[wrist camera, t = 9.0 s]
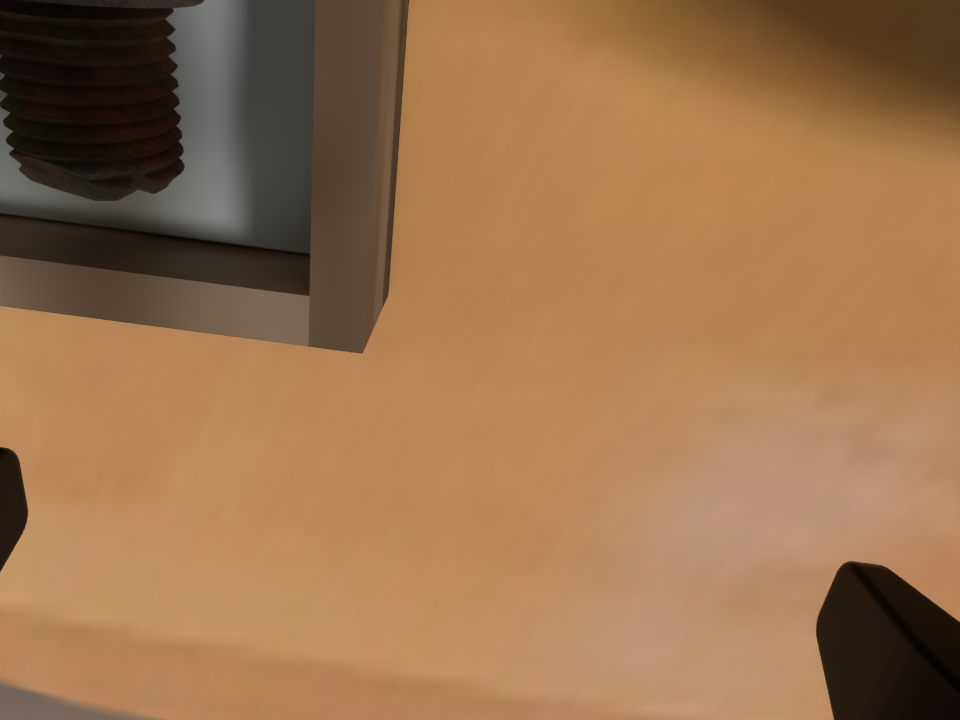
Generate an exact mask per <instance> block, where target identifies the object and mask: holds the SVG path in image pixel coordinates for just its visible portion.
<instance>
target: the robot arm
mask: <svg viewBox="0 0 960 720" xmlns="http://www.w3.org/2000/svg"><path fill="white" fill-rule="evenodd" d="M27 517H28V507H27V501H26V496H25V490H24V485H23V479H22V473H21V468H20V462H19V459H18V457H17V455H16V454H15V452H14V451H12V450H10V449H8V448H3V447H0V572H1V570H2V568H3V566H4V565H5V563H6V561H7V559H8V558H9V556H10V554H11V553H12V551H13V549H14V547H15V546H16V544H17V542H18V540H19V539H20V537H21V535H22V533H23V531H24V529H25V526H26V522H27ZM816 636H817V642H818V647H819V651H820V656H821V661H822V666H823V670H824V675H825V680H826V684H827V689H828V694H829V698H830V703H831V708H832V713H833V717H834V720H960V622H959V621H958V620H956V619H955V618H954V617H952V616H951V615H950V614H948V613H947V612H946V611H944V610H943V609H942V608H940V607H939V606H938V605H936V604H935V603H934V602H932V601H931V600H930V599H928V598H927V597H926V596H924V595H923V594H922V593H920V592H919V591H918V590H916V589H915V588H914V587H912V586H911V585H910V584H908V583H907V582H906V581H904V580H903V579H902V578H900V577H899V576H898V575H896V574H895V573H894V572H892V571H891V570H890V569H888V568H887V567H884V566H882V565H876V564H869V563H861V562H854V561H849V562H846V563H844V564H843V565H842V566H841V567H840V568H839V569H838V571H837V573H836V575H835V578H834V580H833V582H832V585H831V587H830V589H829V592H828V594H827V596H826V598H825V601H824V603H823V605H822V608H821V610H820V612H819V615H818V619H817V625H816Z"/></svg>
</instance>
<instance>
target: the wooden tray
mask: <svg viewBox="0 0 960 720" xmlns="http://www.w3.org/2000/svg"><path fill="white" fill-rule="evenodd" d="M408 5H409V0H204V2H203V3H202V4H199V5H196V6H191V7H182V8H173V10H174V12H173V13H172V14H171V15H170V16H168V17H167V18H165V19H166V20H167V21H168V22H169V23H170V24H171V25H172V26H173V27H174V28H175V29H176V30H175V31H174V32H173V33H172V34H171V35H170V36H168V37H167V38H168V39H169V40H170V41H171V42H172V43H174V44H175V47H176V51H175V52H173V53H172V54H171V55H169V57H170V58H171V59H172V60H173V61H174V62H175V63H176V64H177V65H178V67H177V68H176V70H175V71H174V72H173V73H171V75H172V76H173V77H175V78H176V79H177V81H178V85H179V87H177V88H176V89H175V90H173V91H172V92H173V93H174V94H176V95H177V96H178V97H179V102H180V104H179V105H178V106H177V107H175V108H174V110H175V111H176V112H177V113H178V114H179V115H180V116H181V117H182V118H181V120H180V122H179V124H178V125H177V127H178V128H179V129H180V130H181V132H182V139H180V140H179V142H180V143H181V145H182V146H183V149H184V152H183V155H182V156H181V157H180V159H181V160H182V161H183V163H184V166H185V168H184V171H183V172H182V173H181V174H180V175H179V176H177V177H176V178H175V179H173V180H172V181H171V182H170V184H169V185H168V186H167V188H165V189H163V190H161V191H159V192H157V193H156V194H151V193H148V192H145V191H141V190H137V191H135V192H134V193H132V194H130V195H128V196H126V197H124V198H122V199H120V200H118V201H94V200H90V199H87V198H84V197H80V196H77V195H73V194H70V193H67V192H63V191H60V190H57V189H54V188H51V187H48V186H45V185H42V184H39V183H37V182H34V181H31V180H29V179H28V178H27V177H26V176H25V175H24V174H22V173H21V172H20V171H19V168H20V166H21V164H20V163H19V162H18V161H16V160H15V159H14V158H13V157H11V156H10V155H9V152H10V151H12V150H13V149H14V148H13V147H11V146H10V145H8V144H7V143H6V138H7V137H8V136H9V135H10V134H11V133H12V132H13V131H12V130H10V129H8V128H6V127H5V126H4V123H3V120H4V119H5V118H6V117H7V116H8V115H9V114H10V112H8V111H6V110H4V109H2V108H1V106H0V306H5V307H13V308H21V309H28V310H36V311H43V312H51V313H59V314H66V315H74V316H81V317H89V318H96V319H104V320H112V321H119V322H127V323H134V324H142V325H149V326H157V327H165V328H172V329H180V330H187V331H195V332H203V333H210V334H218V335H225V336H233V337H240V338H248V339H256V340H263V341H271V342H278V343H286V344H294V345H301V346H309V347H316V348H324V349H331V350H339V351H347V352H354V353H363V351H364V349H365V347H366V344H367V342H368V340H369V337H370V335H371V333H372V331H373V328H374V326H375V324H376V322H377V319H378V317H379V315H380V312H381V310H382V308H383V306H384V303H385V301H386V299H387V297H388V291H389V277H390V262H391V248H392V234H393V219H394V205H395V191H396V177H397V162H398V148H399V134H400V119H401V105H402V91H403V76H404V62H405V48H406V34H407V19H408ZM1 57H2V55H0V58H1ZM4 76H5V75H4V74H2V73H1V72H0V80H1V79H2V78H3V77H4ZM7 95H8V94H6V93H5V92H3V91H1V90H0V102H1V101H2V100H3V99H4V98H5V97H6V96H7Z"/></svg>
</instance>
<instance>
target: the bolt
mask: <svg viewBox="0 0 960 720" xmlns="http://www.w3.org/2000/svg"><path fill="white" fill-rule="evenodd" d="M203 2H204V0H0V55H2V57H1V58H0V72H1V73H2V74H4V75H5V76H4V77H3V78H2V79H1V80H0V90H1V91H3V92H5V93H6V94H8V95H7V96H6V97H5V98H4V99H3V100H2V101H1V102H0V106H1V108H2V109H4V110H6V111H8V112H10V114H9V115H8V116H7V117H6V118H5V119H4V120H3V123H4V126H5V127H6V128H8V129H10V130H12V131H13V132H12V133H11V134H10V135H9V136H8V137H7V138H6V143H7V144H8V145H10V146H11V147H13V148H14V149H13V150H12V151H10V152H9V155H10V156H11V157H13V158H14V159H15V160H16V161H18V162H19V163H20V164H21V166H20V168H19V171H20V172H21V173H22V174H24V175H25V176H26V177H27V178H28V179H29V180H31V181H34V182H37V183H39V184H42V185H45V186H48V187H51V188H54V189H57V190H60V191H63V192H67V193H70V194H73V195H77V196H80V197H84V198H87V199H90V200H94V201H118V200H120V199H122V198H124V197H126V196H128V195H130V194H132V193H134V192H135V191H137V190H141V191H145V192H148V193H151V194H156V193H157V192H159V191H161V190H163V189H165V188H167V186H168V185H169V184H170V182H171V181H172V180H173V179H175V178H176V177H177V176H179V175H180V174H181V173H182V172H183V171H184V168H185V166H184V163H183V161H182V160H181V159H180V157H181V156H182V155H183V152H184V149H183V146H182V145H181V143H180V142H179V140H180V139H182V132H181V130H180V129H179V128H178V127H177V125H178V124H179V122H180V120H181V118H182V117H181V116H180V115H179V114H178V113H177V112H176V111H175V110H174V108H175V107H177V106H178V105H179V104H180V102H179V97H178V96H177V95H176V94H174V93H173V92H172V91H173V90H175V89H176V88H177V87H179V85H178V81H177V79H176V78H175V77H173V76H172V75H171V73H173V72H174V71H175V70H176V68H177V67H178V65H177V64H176V63H175V62H174V61H173V60H172V59H171V58H170V57H169V55H171V54H172V53H173V52H175V51H176V47H175V44H174V43H172V42H171V41H170V40H169V39H168V38H167V37H168V36H170V35H171V34H172V33H173V32H174V31H175V30H176V29H175V28H174V27H173V26H172V25H171V24H170V23H169V22H168V21H167V20H166V19H165V18H167V17H168V16H170V15H171V14H172V13H173V12H174V10H173V8H182V7H191V6H196V5H199V4H202V3H203Z"/></svg>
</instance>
